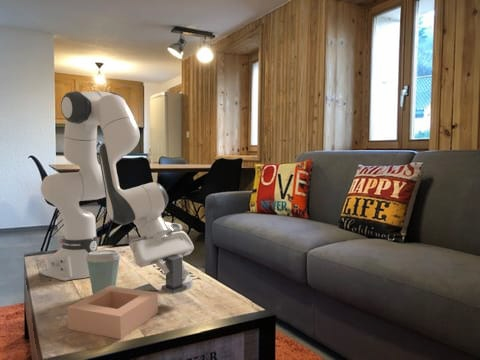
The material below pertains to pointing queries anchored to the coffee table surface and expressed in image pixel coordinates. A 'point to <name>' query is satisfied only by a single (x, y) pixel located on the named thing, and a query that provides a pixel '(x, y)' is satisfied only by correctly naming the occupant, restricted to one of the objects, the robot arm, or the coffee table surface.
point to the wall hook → (186, 278)
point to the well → (113, 311)
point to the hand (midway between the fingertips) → (175, 270)
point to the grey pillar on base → (174, 275)
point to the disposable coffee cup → (103, 268)
